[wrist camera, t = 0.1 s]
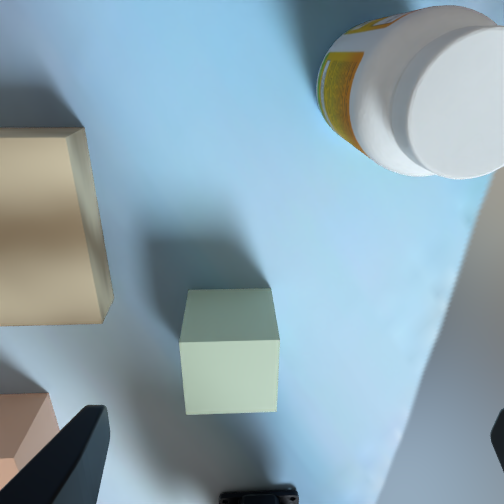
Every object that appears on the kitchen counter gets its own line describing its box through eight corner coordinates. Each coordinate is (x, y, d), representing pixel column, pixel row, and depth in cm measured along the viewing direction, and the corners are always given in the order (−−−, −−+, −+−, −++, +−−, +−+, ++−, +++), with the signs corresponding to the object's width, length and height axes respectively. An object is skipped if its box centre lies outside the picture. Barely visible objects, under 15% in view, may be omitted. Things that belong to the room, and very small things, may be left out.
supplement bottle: (363, 162, 21) (455, 237, 13) (291, 89, 19) (339, 118, 11) (446, 79, 20) (618, 101, 11) (375, -9, 18) (513, -67, 9)
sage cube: (268, 351, 27) (276, 411, 22) (193, 353, 27) (185, 415, 22) (270, 287, 25) (279, 339, 20) (188, 289, 24) (179, 342, 20)
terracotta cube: (63, 442, 30) (34, 511, 25) (-6, 444, 29) (-49, 514, 25) (49, 391, 27) (13, 458, 23) (-27, 394, 27) (-77, 461, 23)
